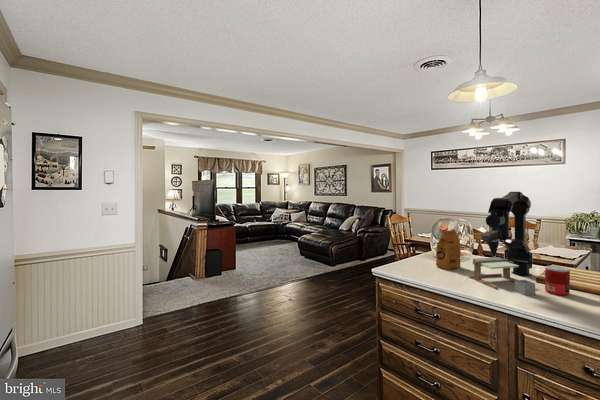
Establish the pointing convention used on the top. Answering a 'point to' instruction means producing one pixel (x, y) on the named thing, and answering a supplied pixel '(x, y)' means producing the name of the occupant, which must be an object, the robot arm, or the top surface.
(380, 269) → the top surface
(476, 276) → the frame
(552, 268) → the canned food
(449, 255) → the coffee package
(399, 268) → the top surface
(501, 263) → the trapdoor
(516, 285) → the stone
